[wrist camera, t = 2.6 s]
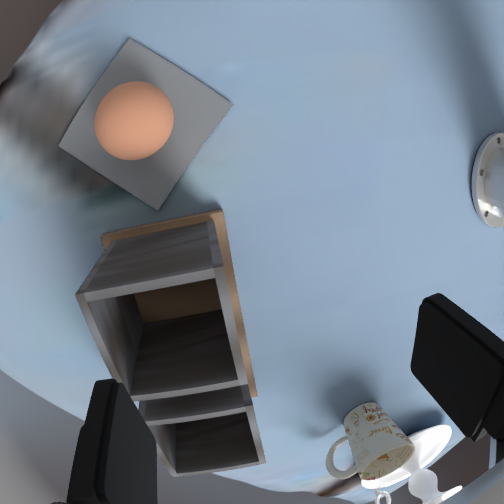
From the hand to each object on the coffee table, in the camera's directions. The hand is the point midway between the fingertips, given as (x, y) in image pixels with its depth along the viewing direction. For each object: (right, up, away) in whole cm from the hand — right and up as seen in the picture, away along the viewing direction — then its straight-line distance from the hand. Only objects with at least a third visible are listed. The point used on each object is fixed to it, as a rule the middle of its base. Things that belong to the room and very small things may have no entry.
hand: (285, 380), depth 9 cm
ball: (-10, +13, +12) cm, 21 cm away
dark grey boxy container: (-7, -4, +23) cm, 24 cm away
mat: (-10, +15, +15) cm, 23 cm away
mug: (+14, -22, +34) cm, 43 cm away
